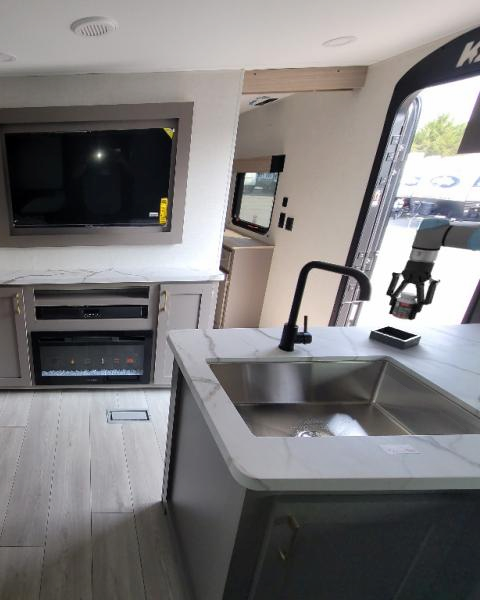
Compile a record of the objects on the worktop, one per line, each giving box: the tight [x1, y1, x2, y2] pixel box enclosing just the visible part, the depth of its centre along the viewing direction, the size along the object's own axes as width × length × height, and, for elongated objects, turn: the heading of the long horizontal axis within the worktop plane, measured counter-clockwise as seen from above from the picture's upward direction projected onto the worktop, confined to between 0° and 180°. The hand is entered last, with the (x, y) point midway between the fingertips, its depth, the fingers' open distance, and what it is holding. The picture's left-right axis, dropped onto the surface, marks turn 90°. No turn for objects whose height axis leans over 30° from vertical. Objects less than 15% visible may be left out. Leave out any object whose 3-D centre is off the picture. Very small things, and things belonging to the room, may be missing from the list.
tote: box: [368, 324, 422, 351], centre depth 134 cm, size 11×11×4 cm
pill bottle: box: [391, 291, 417, 320], centre depth 129 cm, size 6×6×10 cm
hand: (401, 316), depth 130 cm, fingers closed on pill bottle, 6 cm apart
